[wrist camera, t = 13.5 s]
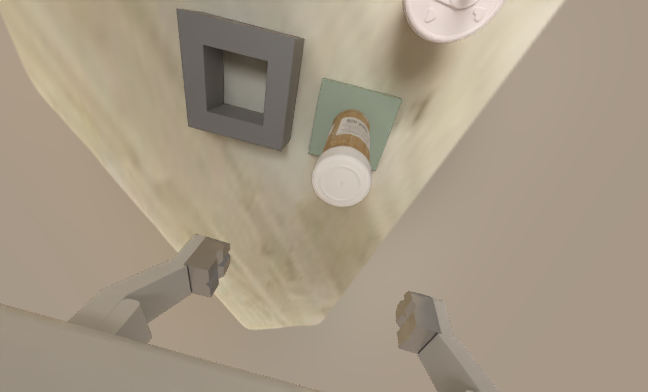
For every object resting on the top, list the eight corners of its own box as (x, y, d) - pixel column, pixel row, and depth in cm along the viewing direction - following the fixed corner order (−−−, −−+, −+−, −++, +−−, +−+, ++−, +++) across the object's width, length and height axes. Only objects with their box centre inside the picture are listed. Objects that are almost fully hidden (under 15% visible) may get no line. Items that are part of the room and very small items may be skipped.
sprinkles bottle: (324, 127, 30) (297, 182, 19) (352, 99, 28) (340, 142, 17) (350, 153, 31) (340, 218, 20) (379, 128, 29) (385, 186, 18)
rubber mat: (323, 77, 28) (322, 79, 27) (401, 98, 28) (402, 99, 27) (309, 150, 33) (308, 153, 32) (375, 167, 33) (375, 171, 32)
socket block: (200, 11, 26) (176, 8, 23) (304, 38, 26) (295, 39, 23) (206, 117, 33) (188, 126, 29) (290, 139, 33) (281, 151, 29)
